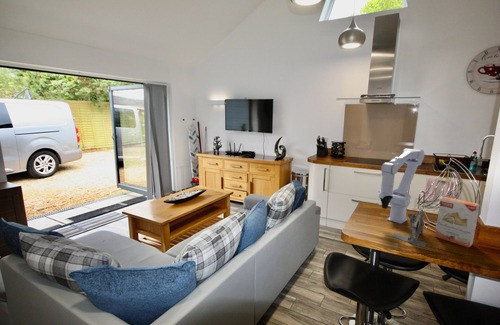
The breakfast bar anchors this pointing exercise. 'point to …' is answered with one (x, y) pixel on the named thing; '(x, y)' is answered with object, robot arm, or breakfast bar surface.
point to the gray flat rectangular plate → (409, 241)
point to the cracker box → (457, 221)
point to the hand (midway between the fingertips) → (384, 208)
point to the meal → (416, 225)
